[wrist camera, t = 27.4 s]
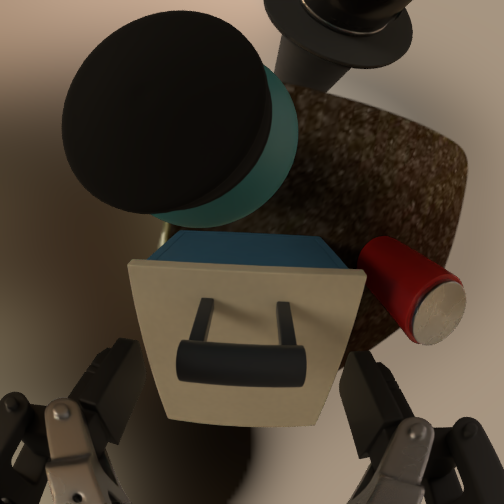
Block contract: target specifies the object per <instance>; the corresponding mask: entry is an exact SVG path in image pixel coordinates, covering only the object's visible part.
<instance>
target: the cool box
mask: <svg viewBox="0 0 504 504" xmlns="http://www.w3.org/2000/svg"><path fill="white" fill-rule="evenodd" d="M147 260H157V261H175V262H194V263H213V264H234V265H256V266H280V267H305V268H333V269H349V268H348V267H347V266H346V265H345V264H344V263H343V262H342V260H341V259H340V258H339V257H338V256H337V255H336V254H335V253H334V252H333V250H332V249H331V248H330V247H329V246H328V245H327V244H326V243H325V242H324V241H323V239H322V238H321V237H319V236H301V235H282V234H261V233H239V232H214V231H185V230H180V231H179V232H177V233H176V234H175V235H174V236H173V237H172V238H170V239H169V240H168V241H167V242H166V243H165V244H164V245H162V246H161V247H160V248H159V249H158V250H157V251H156V252H155V253H153V254H152V256H150V257H149V258H148V259H147Z"/></svg>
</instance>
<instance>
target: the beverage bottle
mask: <svg viewBox="0 0 504 504" xmlns="http://www.w3.org/2000/svg"><path fill="white" fill-rule="evenodd" d="M62 139H63V145H64V150H65V154H66V156H67V160H68V162H69V165H70V167H71V169H72V171H73V173H74V174H75V176H76V177H77V179H78V180H79V181H80V183H81V184H82V185H83V186H84V188H85V189H87V190H88V191H89V192H90V193H91V194H92V195H93V196H95V197H96V198H98V199H99V200H101V201H102V202H104V203H106V204H109V205H110V206H113V207H115V208H118V209H122V210H124V211H127V212H133V213H139V214H151V215H153V216H155V217H157V218H158V219H160V220H163V221H165V222H168V223H171V224H174V225H179V226H183V227H192V228H208V227H215V226H221V225H224V224H228V223H231V222H234V221H236V220H238V219H241V218H243V217H245V216H247V215H248V214H250V213H252V212H254V211H255V210H256V209H258V208H259V207H260V206H262V205H263V204H264V203H265V202H266V201H267V200H268V199H270V198H271V197H272V196H273V195H274V193H275V192H276V191H277V190H278V188H279V187H280V186H281V185H282V183H283V181H284V180H285V178H286V176H287V175H288V173H289V170H290V168H291V166H292V164H293V161H294V157H295V154H296V149H297V143H298V122H297V115H296V111H295V108H294V104H293V102H292V99H291V97H290V95H289V93H288V91H287V90H286V88H285V86H284V85H283V83H282V82H281V81H280V80H279V78H278V77H277V76H276V75H275V74H274V73H273V72H272V71H271V70H270V69H269V68H267V67H266V66H265V65H263V63H262V61H261V59H260V57H259V55H258V53H257V51H256V50H255V49H254V47H253V46H252V44H251V43H250V42H249V41H248V40H247V38H246V37H245V36H244V35H242V33H241V32H240V31H239V30H237V29H236V28H235V27H233V26H232V25H231V24H229V23H227V22H225V21H223V20H222V19H220V18H217V17H214V16H211V15H209V14H205V13H200V12H194V11H167V12H160V13H156V14H152V15H148V16H145V17H142V18H140V19H137V20H135V21H133V22H130V23H129V24H127V25H125V26H123V27H121V28H120V29H118V30H117V31H115V32H113V33H112V34H111V35H110V36H108V37H107V38H106V39H104V40H103V41H102V42H101V43H100V44H99V45H98V46H97V47H96V48H95V49H94V50H93V51H92V52H91V54H89V56H88V57H87V58H86V59H85V61H84V62H83V64H82V65H81V67H80V68H79V70H78V71H77V73H76V75H75V77H74V79H73V81H72V83H71V85H70V88H69V90H68V93H67V96H66V100H65V103H64V108H63V115H62Z"/></svg>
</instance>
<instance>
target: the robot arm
mask: <svg viewBox="0 0 504 504" xmlns="http://www.w3.org/2000/svg"><path fill="white" fill-rule="evenodd" d="M411 1H412V0H299V2H300V4H301V6H302V7H303V9H304V10H305V12H306V13H307V14H308V15H309V16H310V17H311V18H312V19H314V20H315V21H316V22H318V23H319V24H321V25H322V26H324V27H326V28H328V29H330V30H332V31H334V32H337V33H339V34H343V35H346V36H351V37H369V36H373V35H376V34H378V33H379V32H380V31H381V30H382V29H383V28H385V27H386V25H387V24H388V22H389V21H390V20H391V19H392V18H393V17H395V16H396V15H397V16H396V18H395V19H394V21H395V20H396V19H397V18H398V17H399V16H400V14H401V12H402V10H403V9H404V7H406V6H407V5H408V4H409V3H410V2H411ZM394 21H393V22H394ZM145 380H146V368H145V364H144V360H143V356H142V352H141V347H140V344H139V342H138V341H137V340H131V339H125V338H119V339H118V340H117V341H116V343H115V344H114V345H113V347H112V348H106V349H105V350H103V351H102V352H101V353H99V354H97V356H96V357H95V359H94V360H93V362H92V363H91V365H90V366H89V367H88V369H87V371H86V372H85V373H84V374H83V376H82V377H81V379H80V380H79V381H78V383H77V384H76V386H75V387H74V389H73V390H72V392H71V394H70V395H69V396H68V398H58V399H55V400H53V401H51V402H50V403H49V404H48V405H47V406H42V405H34V404H30V403H29V401H28V400H27V398H26V397H25V396H24V395H23V394H22V393H19V392H11V393H8V394H6V395H5V396H4V397H3V398H2V399H1V400H0V504H39V502H40V499H41V496H42V494H43V491H44V489H45V486H46V483H47V481H48V482H49V487H50V490H51V494H52V497H53V501H54V504H132V503H131V501H130V499H129V498H128V497H127V495H126V494H125V492H124V491H123V489H122V487H121V485H120V482H119V480H118V478H117V476H116V473H115V471H114V469H113V466H112V464H111V461H110V459H109V456H108V453H107V451H106V449H105V447H106V445H107V443H108V442H110V443H113V444H117V445H118V444H119V442H120V439H121V437H122V434H123V432H124V430H125V427H126V425H127V422H128V420H129V418H130V415H131V413H132V411H133V409H134V406H135V404H136V402H137V400H138V397H139V395H140V393H141V391H142V388H143V386H144V384H145ZM339 392H340V396H341V399H342V402H343V406H344V409H345V412H346V415H347V419H348V422H349V425H350V429H351V432H352V435H353V439H354V443H355V446H356V449H357V453H358V456H359V459H362V458H367V457H370V460H371V463H370V465H369V466H368V468H367V470H366V472H365V474H364V476H363V478H362V480H361V481H360V483H359V485H358V486H357V488H356V490H355V491H354V493H353V495H352V497H351V498H350V500H349V501H348V503H347V504H421V502H422V499H423V496H424V497H425V501H426V504H504V469H503V467H502V465H501V463H500V460H499V458H498V456H497V454H496V452H495V450H494V448H493V446H492V444H491V442H490V440H489V438H488V436H487V435H486V433H485V431H484V429H483V427H482V425H481V424H480V423H479V422H478V421H477V420H476V419H474V418H471V417H463V418H461V419H459V420H458V421H457V422H456V423H455V424H454V425H453V427H446V428H433V427H432V426H431V424H430V423H429V422H428V421H426V420H425V419H423V418H419V417H415V416H414V414H413V412H412V410H411V408H410V407H409V404H408V403H407V401H406V399H405V397H404V395H403V393H402V392H401V389H399V386H398V384H397V382H396V381H395V378H394V377H393V375H392V373H391V371H390V370H389V369H388V368H387V367H386V366H385V365H383V364H382V363H381V362H377V363H376V362H375V360H374V358H373V356H372V354H371V352H370V351H354V352H350V353H349V354H348V357H347V360H346V363H345V366H344V370H343V373H342V376H341V379H340V383H339ZM21 440H22V441H23V442H24V446H23V448H22V450H21V451H20V453H19V456H18V457H17V459H16V462H15V464H14V466H13V467H12V465H11V459H12V457H13V455H14V453H15V451H16V449H17V447H18V445H19V443H20V442H21ZM455 467H457V469H458V471H459V474H460V477H461V479H462V482H463V485H464V491H462V488H461V485H460V482H459V480H458V477H457V475H456V472H455V469H454V468H455Z"/></svg>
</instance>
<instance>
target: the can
mask: <svg viewBox="0 0 504 504" xmlns="http://www.w3.org/2000/svg"><path fill="white" fill-rule="evenodd" d="M357 269H362V270H363V271H364V272H365V274H366V275H367V278H366V282H365V286H366V287H367V288H368V289H369V290H370V292H371V293H372V294H373V295H374V296H375V297H376V299H377V300H378V301H379V302H380V303H381V305H382V306H383V307H384V308H385V309H386V311H387V312H388V313H389V314H390V315H391V317H392V318H393V319H394V320H395V322H396V323H397V324H398V325H399V327H400V328H401V329H402V330H403V332H404V333H405V334H406V335H407V337H408V338H409V339H410V340H411V341H412V342H414V343H417V344H422V345H432V344H436V343H438V342H440V341H442V340H443V339H445V338H446V337H447V336H448V335H450V334H451V333H452V332H453V330H454V329H455V328H456V326H457V325H458V324H459V322H460V320H461V318H462V316H463V313H464V310H465V306H466V293H465V290H464V288H463V285H462V282H461V281H460V279H459V278H458V277H457V276H455V275H453V274H452V273H450V272H449V271H447V270H446V269H444V268H443V267H441V266H440V265H438V264H436V263H435V262H433V261H432V260H430V259H428V258H427V257H425V256H423V255H422V254H420V253H418V252H417V251H415V250H413V249H412V248H410V247H408V246H407V245H405V244H403V243H401V242H400V241H398V240H396V239H394V238H393V237H390V236H379V237H376V238H374V239H372V240H371V241H369V242H368V243H367V244H366V245H365V246H364V247H363V249H362V250H361V252H360V254H359V257H358V260H357Z"/></svg>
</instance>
